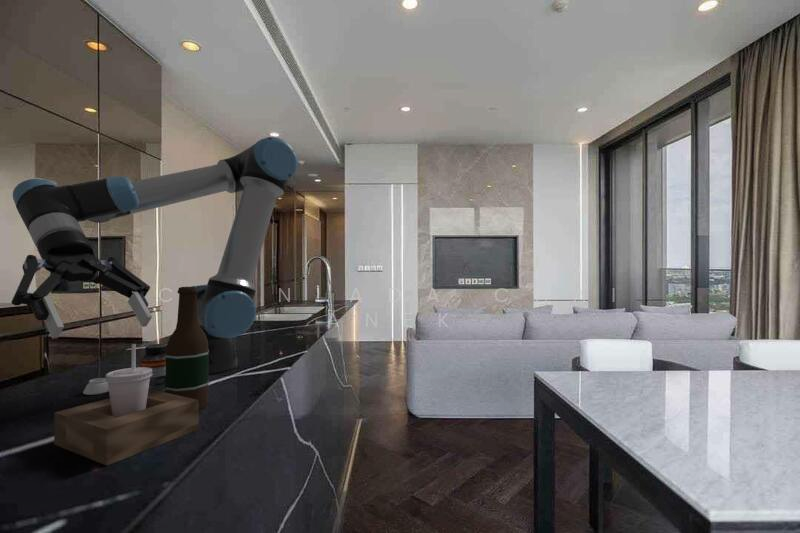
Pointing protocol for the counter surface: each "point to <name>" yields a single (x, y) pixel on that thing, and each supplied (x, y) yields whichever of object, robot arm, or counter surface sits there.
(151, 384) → the supplement bottle
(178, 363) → the beer bottle
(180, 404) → the socket board
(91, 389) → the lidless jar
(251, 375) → the counter surface
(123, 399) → the smoothie
